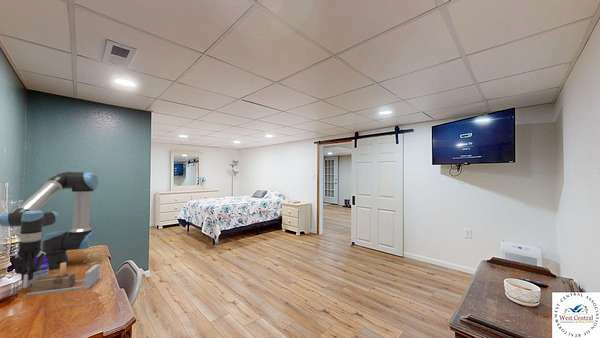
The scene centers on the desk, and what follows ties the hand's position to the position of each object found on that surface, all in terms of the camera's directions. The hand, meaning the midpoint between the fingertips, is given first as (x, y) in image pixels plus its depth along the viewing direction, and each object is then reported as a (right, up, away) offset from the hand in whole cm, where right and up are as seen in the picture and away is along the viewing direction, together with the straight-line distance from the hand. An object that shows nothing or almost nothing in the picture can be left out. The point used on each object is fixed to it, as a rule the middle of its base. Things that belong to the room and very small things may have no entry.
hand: (26, 286), depth 121 cm
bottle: (-6, -5, +10) cm, 13 cm away
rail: (+14, -5, +6) cm, 15 cm away
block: (+10, -3, +4) cm, 11 cm away
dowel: (+13, -2, +5) cm, 14 cm away
